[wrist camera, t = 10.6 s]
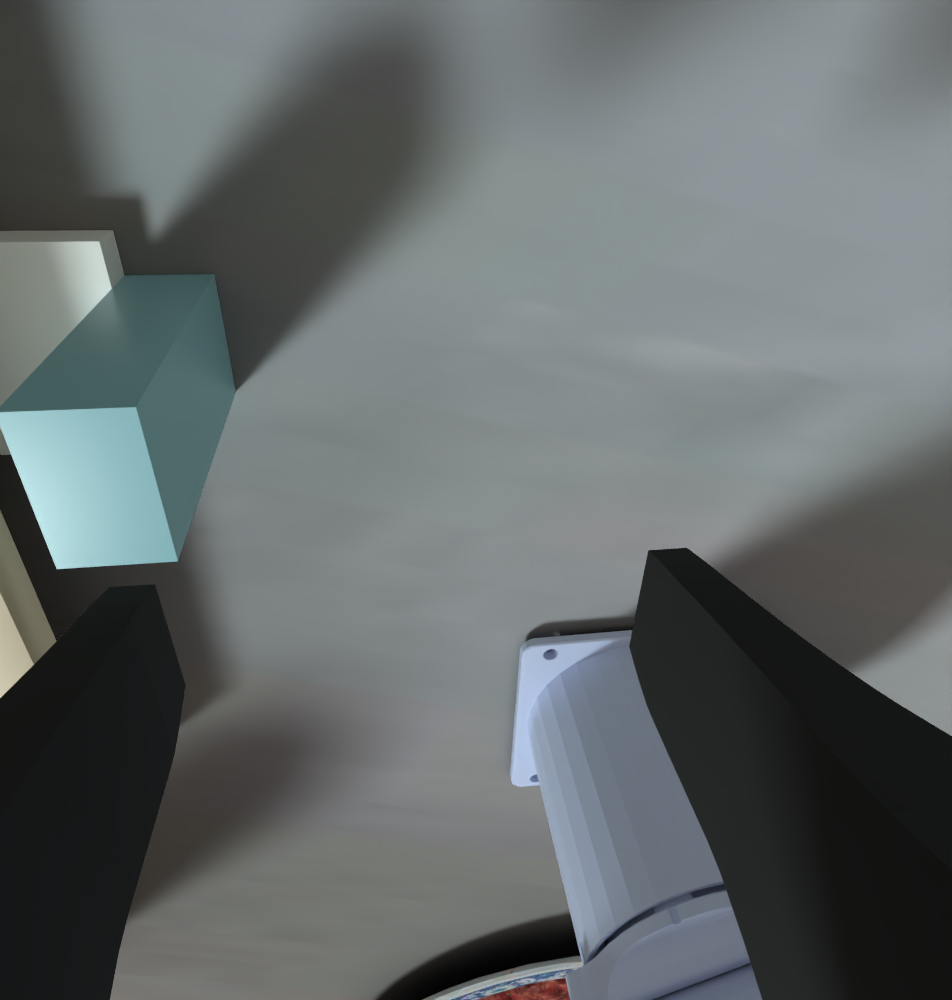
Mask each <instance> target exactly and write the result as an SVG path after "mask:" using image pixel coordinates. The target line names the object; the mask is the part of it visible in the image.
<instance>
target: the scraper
mask: <svg viewBox="0 0 952 1000" xmlns="http://www.w3.org/2000/svg"><path fill="white" fill-rule="evenodd" d="M235 393H236V390H235V384H234V379H233V373H232V368H231V362H230V357H229V351H228V346H227V340H226V335H225V329H224V324H223V318H222V313H221V307H220V302H219V296H218V291H217V285H216V280H215V274H187V275H124V272H123V268H122V264H121V260H120V256H119V252H118V248H117V244H116V240H115V236H114V232H113V230H60V231H0V455H12V458H13V460H14V463H15V466H16V468H17V471H18V473H19V476H20V478H21V481H22V483H23V486H24V488H25V491H26V493H27V496H28V498H29V501H30V503H31V506H32V508H33V511H34V513H35V516H36V518H37V521H38V523H39V526H40V528H41V531H42V533H43V536H44V538H45V541H46V544H47V546H48V549H49V551H50V554H51V556H52V559H53V561H54V564H55V566H56V569H67V568H83V567H99V566H114V565H130V564H145V563H161V562H176V561H178V560H179V557H180V554H181V551H182V548H183V545H184V542H185V539H186V536H187V533H188V530H189V527H190V524H191V521H192V519H193V516H194V513H195V510H196V507H197V504H198V501H199V498H200V495H201V492H202V489H203V486H204V483H205V480H206V478H207V475H208V472H209V469H210V466H211V463H212V460H213V457H214V454H215V451H216V448H217V445H218V442H219V439H220V436H221V434H222V431H223V428H224V425H225V422H226V419H227V416H228V413H229V410H230V407H231V404H232V401H233V398H234V395H235Z"/></svg>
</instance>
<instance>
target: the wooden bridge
mask: <svg viewBox="0 0 952 1000" xmlns="http://www.w3.org/2000/svg"><path fill="white" fill-rule="evenodd" d="M55 642H56V639H55V637H54V634H53V632H52V630H51V627H50V625H49V623H48V620H47V618H46V616H45V613H44V611H43V609H42V606H41V604H40V602H39V599H38V597H37V595H36V592H35V590H34V588H33V585H32V583H31V581H30V578H29V576H28V574H27V571H26V569H25V567H24V564H23V562H22V560H21V557H20V555H19V553H18V550H17V548H16V546H15V543H14V541H13V539H12V536H11V534H10V532H9V529H8V527H7V525H6V522H5V520H4V518H3V515H2V513H1V511H0V698H1V697H2V696H3V695H4V694H5V693H6V692H7V691H8V690H9V689H10V688H11V687H12V686H13V685H14V684H15V683H16V682H17V681H18V680H19V679H20V678H21V677H22V676H23V675H24V674H25V673H26V672H27V671H28V670H29V669H30V668H31V667H32V666H33V665H34V664H35V663H36V662H37V661H38V660H39V659H40V658H41V657H42V656H43V655H44V654H45V653H46V652H47V651H48V650H49V649H50V648H51V646H52V645H53V644H54V643H55Z"/></svg>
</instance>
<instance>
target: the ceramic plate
mask: <svg viewBox="0 0 952 1000" xmlns="http://www.w3.org/2000/svg"><path fill="white" fill-rule="evenodd" d="M582 966H583V965H582V960H581V956H572V957H567V958H561V959H555V960H549V961H544V962H538V963H532V964H527V965H523V966H519V967H516V968H512V969H508V970H505V971H501V972H497V973H493V974H490V975H486V976H482V977H478V978H476V979H473V980H470V981H467V982H465V983H462V984H459V985H456V986H454V987H451V988H448V989H446V990H443V991H441V992H439V993H436V994H434V995H432V996H429V997H427V998H425V999H422V1000H570V997H569V992H568V987H567V983H566V978H565V976H566V975H567V973H569V972H572V971H574V970H576V969H578V968H580V967H582Z"/></svg>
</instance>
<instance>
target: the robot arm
mask: <svg viewBox="0 0 952 1000" xmlns="http://www.w3.org/2000/svg"><path fill="white" fill-rule="evenodd" d="M550 649H553V650H552V651H548V652H546V651H547V650H550ZM184 690H185V683H184V679H183V676H182V673H181V669H180V666H179V663H178V659H177V656H176V653H175V649H174V646H173V643H172V640H171V636H170V633H169V630H168V626H167V623H166V620H165V616H164V613H163V610H162V606H161V603H160V600H159V596H158V593H157V590H156V586H155V584H153V585H139V586H124V587H110V588H108V589H107V590H106V591H105V592H104V593H103V594H102V595H101V596H100V597H99V598H98V599H97V600H96V601H95V602H94V603H93V604H92V605H91V606H90V607H89V608H88V609H87V610H86V611H85V612H84V613H83V614H82V616H81V617H80V618H79V619H78V620H77V621H76V622H75V623H74V624H73V625H72V626H71V627H70V628H69V629H68V630H67V631H66V632H65V633H64V634H63V635H62V636H61V637H60V638H59V639H58V640H57V641H56V642H55V643H54V644H53V645H52V646H51V648H50V649H49V650H48V651H47V652H46V653H45V654H44V655H43V656H42V657H41V658H40V659H39V660H38V661H37V662H36V663H35V664H34V665H33V666H32V667H31V668H30V669H29V670H28V671H27V672H26V673H25V674H24V675H23V676H22V677H21V678H20V679H19V680H18V681H17V682H16V683H15V684H14V685H13V686H12V687H11V688H10V689H9V690H8V691H7V692H6V693H5V694H4V695H3V696H2V697H1V698H0V1000H110V995H111V990H112V985H113V979H114V974H115V969H116V964H117V958H118V953H119V949H120V945H121V941H122V937H123V933H124V929H125V925H126V921H127V917H128V913H129V909H130V906H131V903H132V899H133V896H134V892H135V889H136V886H137V882H138V879H139V875H140V872H141V868H142V865H143V862H144V858H145V855H146V851H147V848H148V844H149V841H150V838H151V834H152V831H153V827H154V824H155V821H156V817H157V814H158V810H159V807H160V803H161V800H162V796H163V793H164V789H165V786H166V782H167V779H168V775H169V772H170V768H171V765H172V761H173V757H174V754H175V748H176V743H177V737H178V731H179V725H180V718H181V711H182V704H183V697H184ZM510 776H511V780H512V783H513V784H514V785H516V786H519V787H524V786H533V785H540V788H541V793H542V797H543V801H544V805H545V809H546V814H547V818H548V822H549V826H550V830H551V835H552V839H553V843H554V847H555V851H556V856H557V860H558V864H559V868H560V872H561V877H562V881H563V885H564V889H565V893H566V898H567V902H568V906H569V910H570V914H571V918H572V923H573V927H574V931H575V935H576V939H577V944H578V948H579V952H580V956H581V960H582V965H583V966H582V967H580V968H578V969H576V970H574V971H572V972H569V973H567V975H566V976H565V978H566V983H567V987H568V992H569V997H570V1000H952V736H950V735H949V734H947V733H945V732H944V731H942V730H940V729H939V728H937V727H935V726H934V725H932V724H930V723H929V722H927V721H925V720H924V719H922V718H920V717H919V716H917V715H916V714H914V713H912V712H911V711H909V710H907V709H906V708H904V707H902V706H901V705H899V704H897V703H896V702H894V701H893V700H891V699H890V698H888V697H887V696H885V695H883V694H882V693H880V692H879V691H877V690H876V689H874V688H873V687H871V686H870V685H868V684H867V683H865V682H864V681H863V680H861V679H860V678H858V677H857V676H855V675H854V674H852V673H851V672H849V671H848V670H847V669H845V668H844V667H842V666H841V665H839V664H838V663H836V662H835V661H834V660H832V659H831V658H829V657H828V656H826V655H825V654H824V653H822V652H821V651H820V650H818V649H817V648H816V647H814V646H813V645H811V644H810V643H809V642H807V641H806V640H805V639H803V638H802V637H801V636H799V635H798V634H797V633H795V632H794V631H793V630H791V629H790V628H789V627H787V626H786V625H785V624H783V623H782V622H781V621H780V620H778V619H777V618H776V617H774V616H773V615H772V614H771V613H769V612H768V611H767V610H765V609H764V608H763V607H762V606H760V605H759V604H758V603H756V602H755V601H754V600H753V599H751V598H750V597H749V596H748V595H746V594H745V593H744V592H743V591H741V590H740V589H739V588H738V587H736V586H735V585H734V584H733V583H731V582H730V581H729V580H728V579H726V578H725V577H724V576H723V575H721V574H720V573H719V572H718V571H716V570H715V569H714V568H712V567H711V566H710V565H709V564H707V563H706V562H705V561H704V560H702V559H701V558H700V557H698V556H697V555H696V554H694V553H693V552H692V551H690V550H689V549H687V548H678V549H663V550H649V551H648V555H647V560H646V565H645V570H644V575H643V580H642V585H641V590H640V595H639V600H638V605H637V610H636V615H635V620H634V625H633V630H627V631H615V632H603V633H591V634H579V635H567V636H555V637H543V638H534V639H530V640H528V641H526V642H525V643H524V644H523V645H522V646H521V649H520V659H519V671H518V683H517V695H516V707H515V719H514V732H513V744H512V756H511V768H510Z"/></svg>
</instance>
